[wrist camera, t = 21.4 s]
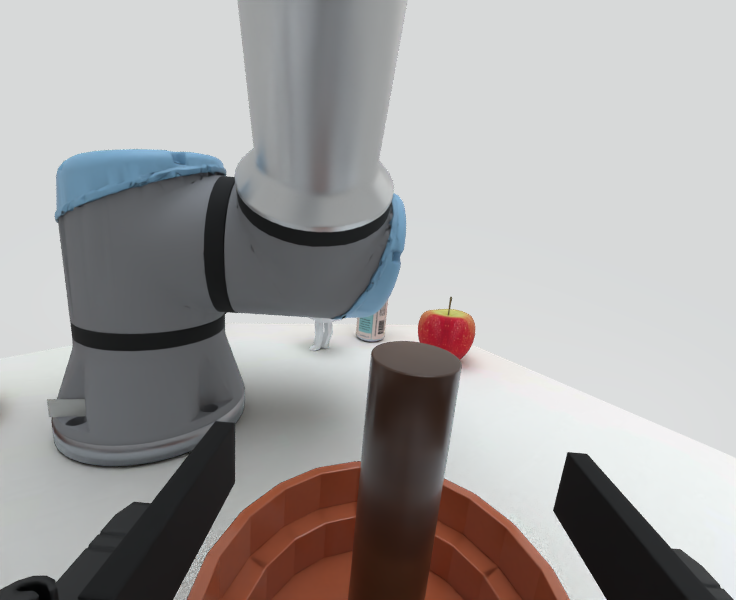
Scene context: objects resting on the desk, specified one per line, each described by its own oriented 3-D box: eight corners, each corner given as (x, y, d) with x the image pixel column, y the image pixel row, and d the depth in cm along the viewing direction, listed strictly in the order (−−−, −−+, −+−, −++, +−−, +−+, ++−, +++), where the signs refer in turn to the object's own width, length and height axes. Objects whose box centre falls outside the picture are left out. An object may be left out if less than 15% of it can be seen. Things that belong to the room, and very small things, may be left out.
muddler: (309, 637, 17) (329, 334, 13) (402, 606, 18) (440, 330, 15) (335, 790, 12) (374, 398, 9) (453, 732, 14) (525, 383, 11)
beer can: (382, 334, 62) (389, 266, 60) (385, 344, 58) (392, 271, 55) (355, 332, 62) (361, 264, 59) (355, 341, 58) (361, 268, 55)
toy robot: (328, 361, 49) (333, 275, 47) (297, 343, 55) (300, 266, 52) (349, 355, 52) (356, 274, 49) (318, 339, 57) (322, 265, 55)
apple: (411, 364, 51) (419, 296, 48) (417, 345, 59) (425, 285, 56) (471, 375, 49) (482, 304, 47) (468, 353, 57) (478, 292, 55)
